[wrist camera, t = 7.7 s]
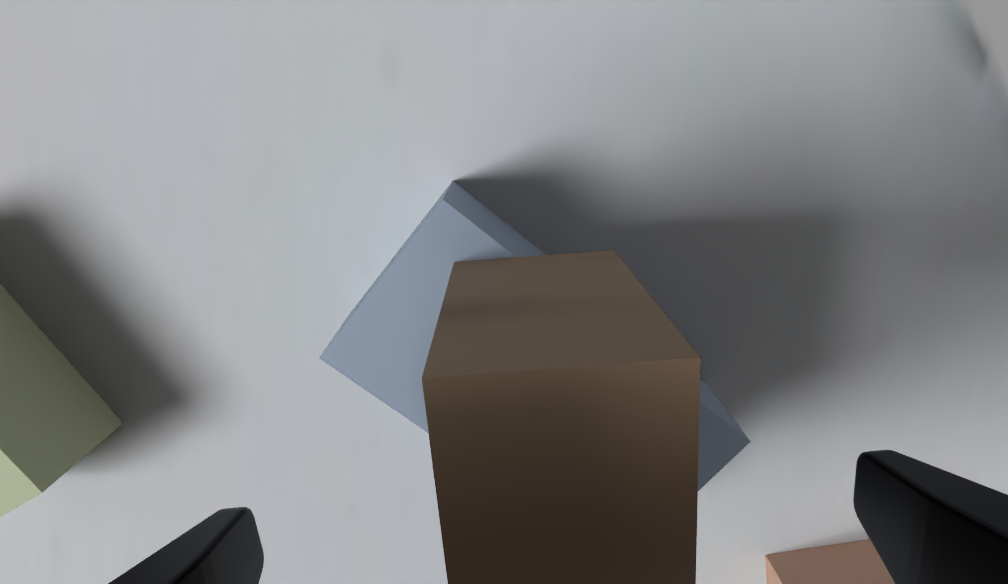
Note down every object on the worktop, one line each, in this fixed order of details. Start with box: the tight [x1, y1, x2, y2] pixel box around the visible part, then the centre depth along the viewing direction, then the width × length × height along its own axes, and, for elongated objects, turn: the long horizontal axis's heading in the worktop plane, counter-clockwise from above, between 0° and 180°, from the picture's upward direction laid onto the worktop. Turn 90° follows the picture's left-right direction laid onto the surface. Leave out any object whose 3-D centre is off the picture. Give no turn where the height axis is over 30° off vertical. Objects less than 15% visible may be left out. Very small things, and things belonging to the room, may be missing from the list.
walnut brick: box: [422, 250, 701, 584], centre depth 10 cm, size 6×3×5 cm, turn 4°
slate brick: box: [319, 181, 750, 491], centre depth 14 cm, size 8×4×3 cm, turn 51°
